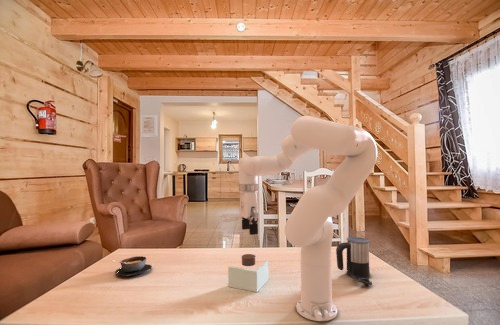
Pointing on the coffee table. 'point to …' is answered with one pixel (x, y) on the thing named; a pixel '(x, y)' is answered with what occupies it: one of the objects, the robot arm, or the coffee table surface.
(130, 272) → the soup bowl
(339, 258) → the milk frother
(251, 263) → the brown cylinder
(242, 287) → the right angle wall
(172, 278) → the coffee table surface
